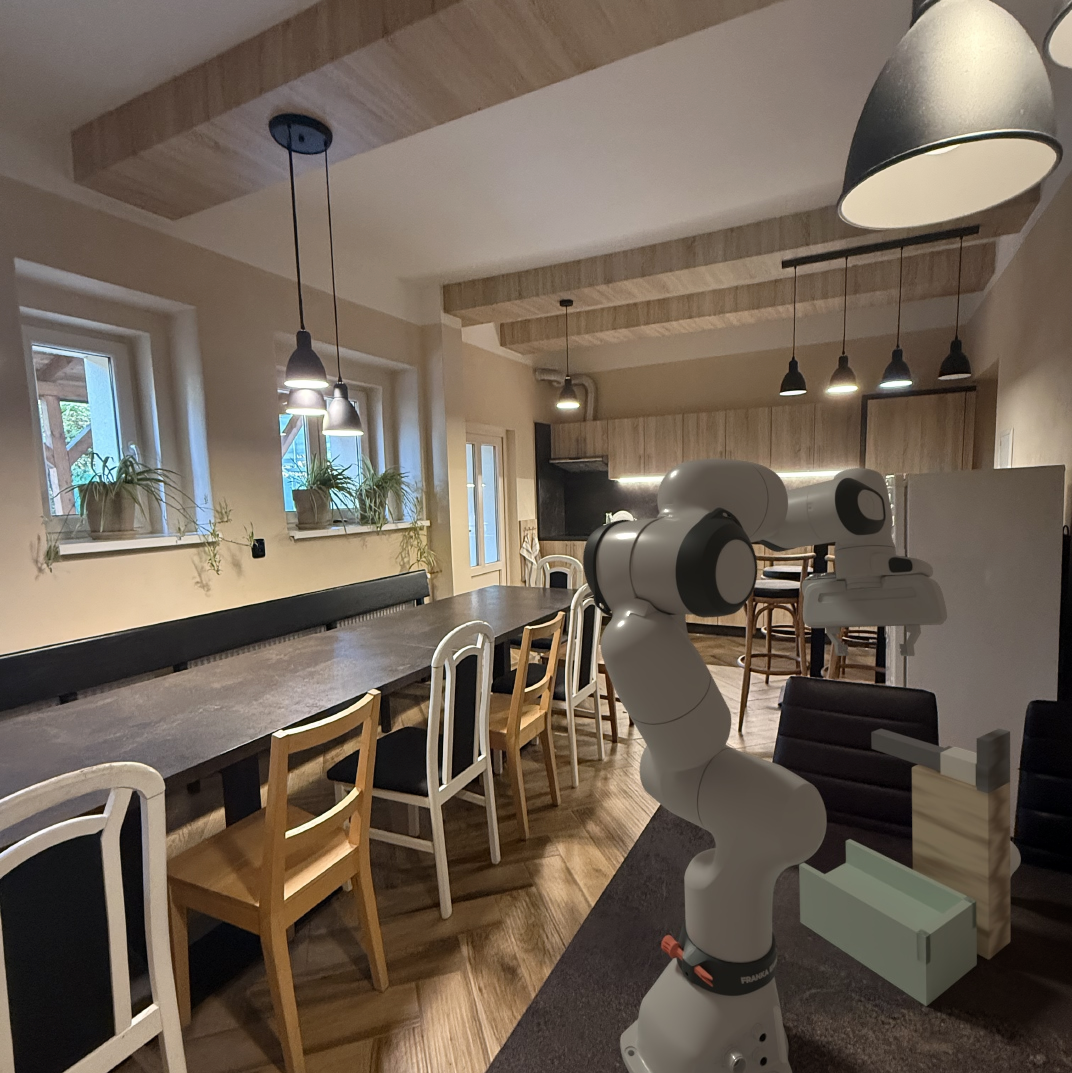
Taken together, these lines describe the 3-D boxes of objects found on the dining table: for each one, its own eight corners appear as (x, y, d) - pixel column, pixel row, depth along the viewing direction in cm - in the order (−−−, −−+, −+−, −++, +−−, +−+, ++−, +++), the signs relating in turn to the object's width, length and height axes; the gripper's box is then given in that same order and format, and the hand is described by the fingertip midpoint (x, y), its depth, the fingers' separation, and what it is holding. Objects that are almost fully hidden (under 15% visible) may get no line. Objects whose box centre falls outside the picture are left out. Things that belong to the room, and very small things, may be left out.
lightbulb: (1028, 910, 101) (1028, 847, 100) (988, 906, 102) (987, 844, 102) (1008, 887, 107) (1008, 827, 106) (969, 884, 108) (969, 825, 108)
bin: (926, 1006, 83) (925, 937, 83) (800, 922, 100) (799, 864, 100) (976, 964, 90) (976, 900, 89) (850, 892, 107) (849, 838, 107)
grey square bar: (975, 785, 92) (975, 763, 92) (869, 749, 107) (868, 730, 106) (989, 778, 94) (989, 756, 94) (883, 743, 109) (883, 724, 109)
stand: (988, 959, 91) (987, 741, 89) (913, 917, 100) (911, 720, 99) (1010, 941, 94) (1010, 731, 92) (935, 902, 104) (934, 711, 102)
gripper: (793, 572, 102) (798, 654, 99) (932, 559, 87) (943, 655, 84) (809, 576, 106) (814, 656, 103) (944, 565, 91) (955, 657, 88)
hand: (873, 655), depth 93 cm, fingers open, 8 cm apart
